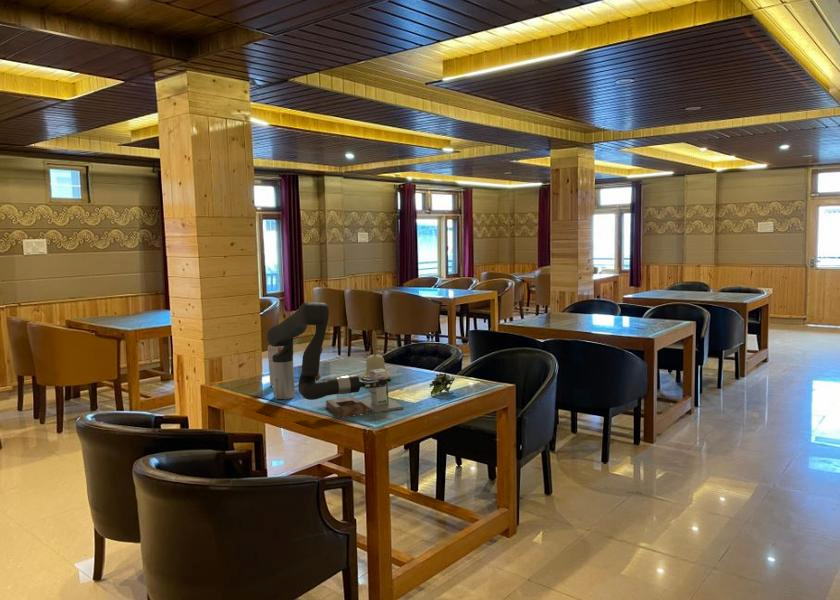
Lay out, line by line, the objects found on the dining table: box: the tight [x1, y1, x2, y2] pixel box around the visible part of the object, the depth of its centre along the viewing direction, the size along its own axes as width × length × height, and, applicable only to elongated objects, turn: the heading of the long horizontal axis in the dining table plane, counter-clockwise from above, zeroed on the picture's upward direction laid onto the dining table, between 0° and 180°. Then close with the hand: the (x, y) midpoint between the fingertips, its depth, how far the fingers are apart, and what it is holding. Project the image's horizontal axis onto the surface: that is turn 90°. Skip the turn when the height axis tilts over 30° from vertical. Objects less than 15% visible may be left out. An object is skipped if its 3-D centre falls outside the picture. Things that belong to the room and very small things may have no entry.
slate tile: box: [358, 397, 404, 413], centre depth 274 cm, size 13×20×1 cm, turn 24°
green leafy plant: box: [429, 373, 455, 396], centre depth 290 cm, size 11×11×12 cm
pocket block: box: [325, 396, 369, 419], centre depth 268 cm, size 12×20×3 cm, turn 24°
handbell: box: [361, 331, 392, 379], centre depth 323 cm, size 15×15×25 cm
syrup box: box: [370, 368, 390, 405], centre depth 273 cm, size 6×6×14 cm
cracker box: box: [267, 344, 283, 386], centre depth 322 cm, size 14×6×21 cm, turn 174°
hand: (383, 379), depth 274 cm, fingers open, 8 cm apart
